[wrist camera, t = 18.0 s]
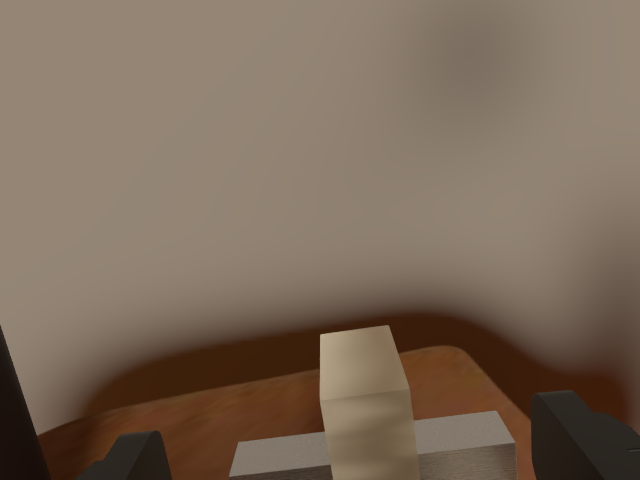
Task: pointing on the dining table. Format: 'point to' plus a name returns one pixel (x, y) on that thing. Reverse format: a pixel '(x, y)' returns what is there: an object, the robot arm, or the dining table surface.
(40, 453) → the bottle
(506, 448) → the metal rail
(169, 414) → the dining table surface
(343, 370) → the cream tall block
